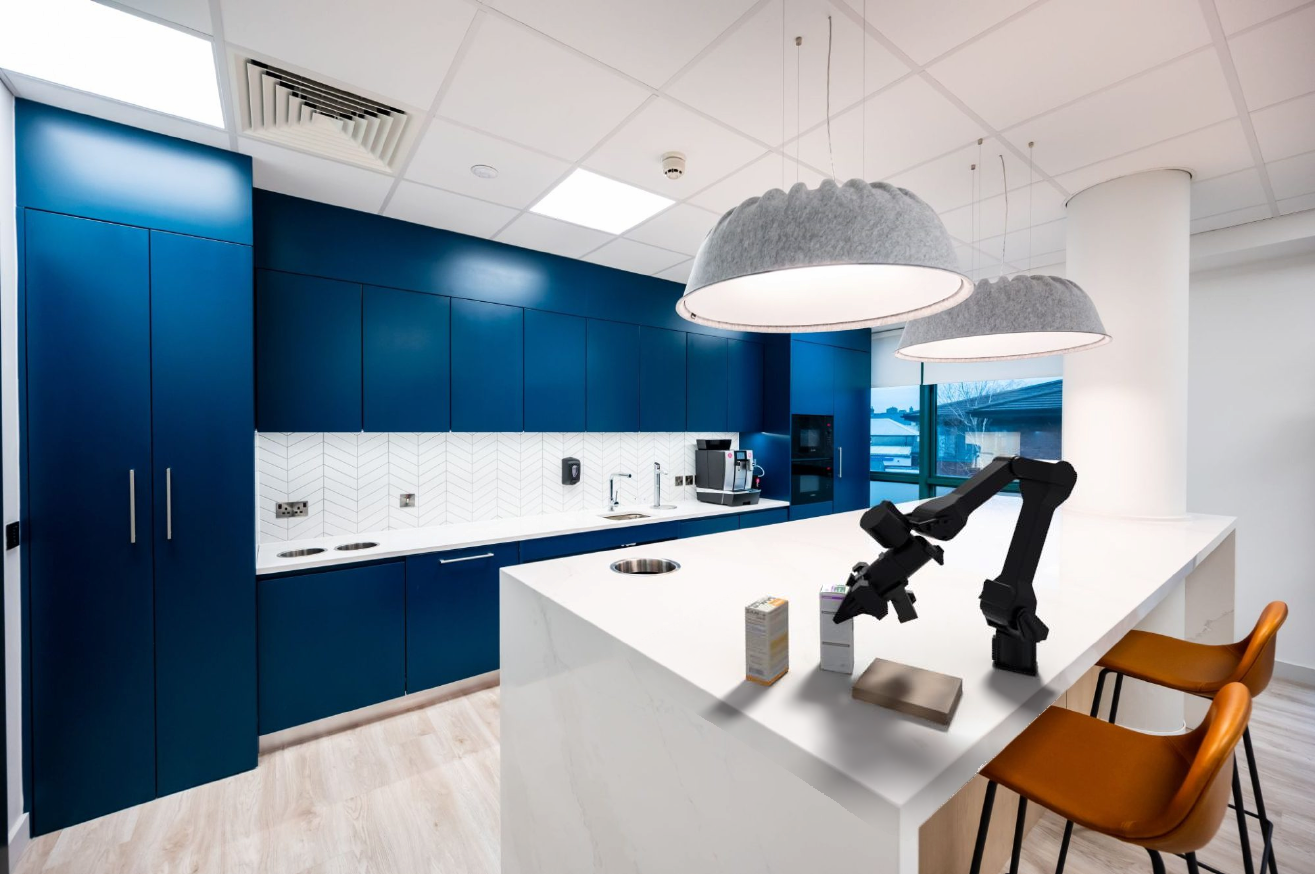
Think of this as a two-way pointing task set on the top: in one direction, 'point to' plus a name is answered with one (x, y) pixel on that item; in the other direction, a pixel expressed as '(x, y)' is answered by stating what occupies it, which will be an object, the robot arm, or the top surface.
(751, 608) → the supplement box
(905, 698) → the walnut block
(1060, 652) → the top surface
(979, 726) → the top surface
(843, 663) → the syrup box
